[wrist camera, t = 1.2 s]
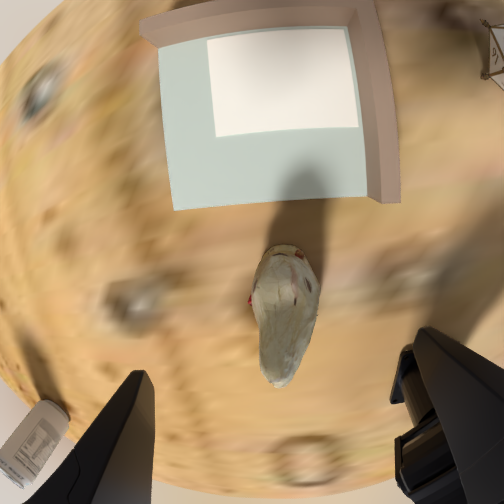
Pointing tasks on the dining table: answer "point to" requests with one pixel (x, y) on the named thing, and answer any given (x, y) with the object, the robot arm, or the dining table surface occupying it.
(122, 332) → the dining table surface
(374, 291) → the dining table surface
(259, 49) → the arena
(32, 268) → the dining table surface
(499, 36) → the game die
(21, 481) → the energy drink can
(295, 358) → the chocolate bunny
